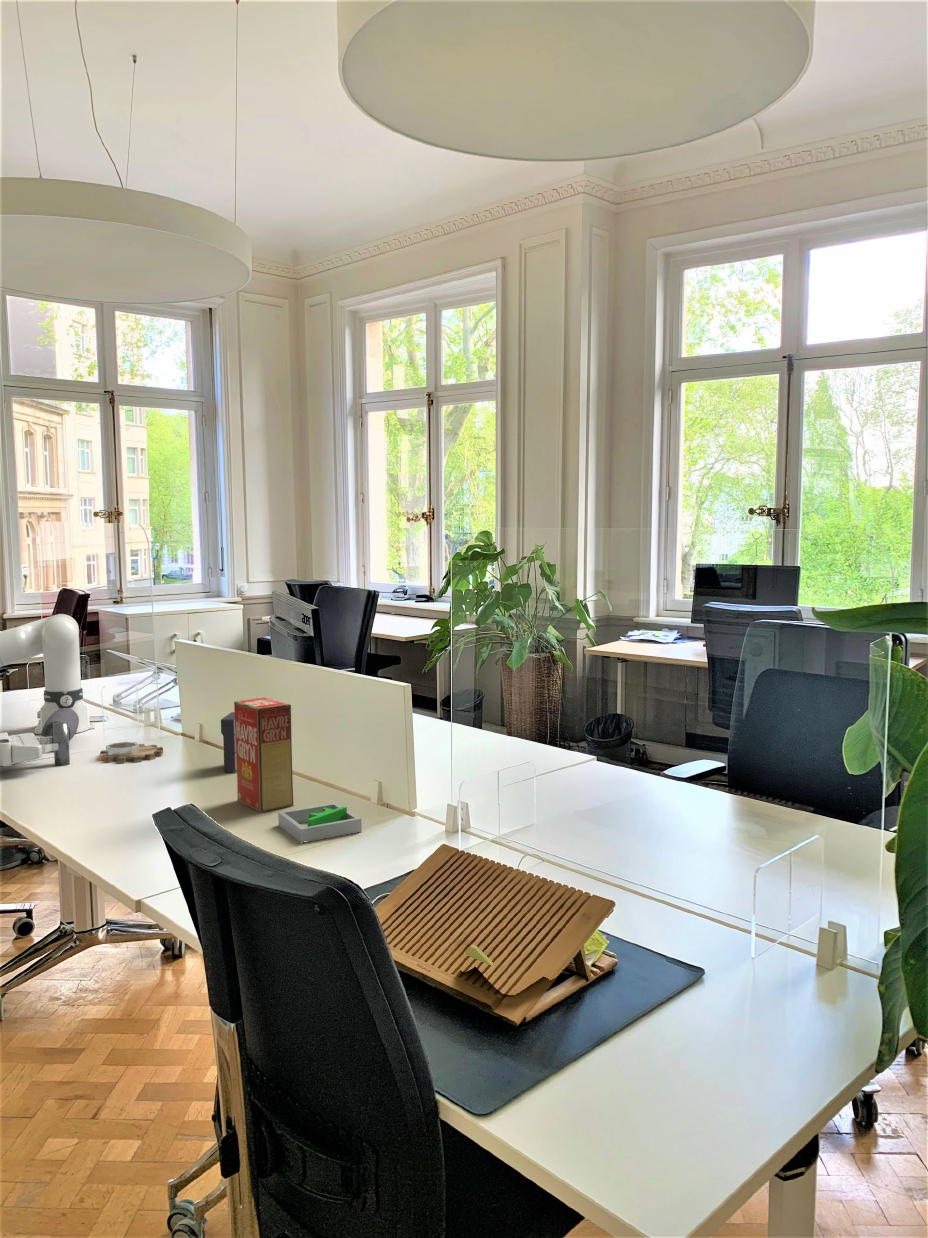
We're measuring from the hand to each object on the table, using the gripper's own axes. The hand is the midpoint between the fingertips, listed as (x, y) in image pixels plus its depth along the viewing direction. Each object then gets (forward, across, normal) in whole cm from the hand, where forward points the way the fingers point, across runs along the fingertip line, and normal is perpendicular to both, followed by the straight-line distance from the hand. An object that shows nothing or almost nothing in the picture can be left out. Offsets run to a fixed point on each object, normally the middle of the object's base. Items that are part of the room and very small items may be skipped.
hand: (55, 743), depth 255 cm
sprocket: (+20, 0, -6) cm, 21 cm away
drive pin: (+2, 0, -6) cm, 7 cm away
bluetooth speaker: (+5, -29, -7) cm, 30 cm away
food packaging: (+38, +67, -7) cm, 77 cm away
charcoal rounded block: (+42, +30, -7) cm, 52 cm away
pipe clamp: (+42, +94, -7) cm, 103 cm away
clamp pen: (+42, +92, -6) cm, 101 cm away
